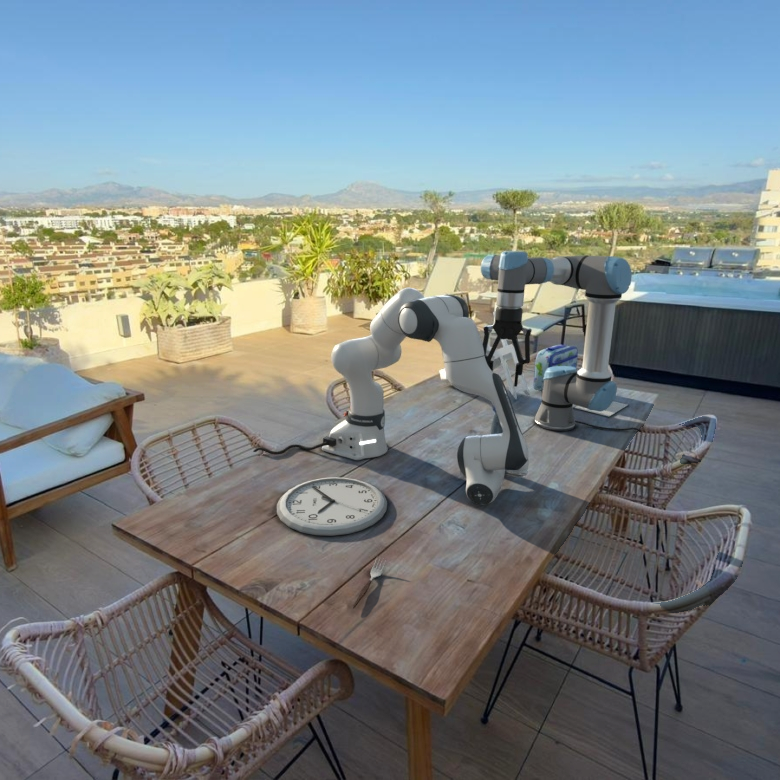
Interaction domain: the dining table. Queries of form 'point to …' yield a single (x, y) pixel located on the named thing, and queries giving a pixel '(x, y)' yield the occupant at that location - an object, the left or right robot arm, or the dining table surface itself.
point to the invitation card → (609, 411)
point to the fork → (374, 573)
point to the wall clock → (331, 506)
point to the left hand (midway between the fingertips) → (497, 451)
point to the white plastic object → (498, 358)
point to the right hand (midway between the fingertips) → (502, 383)
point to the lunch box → (553, 361)
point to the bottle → (496, 425)
